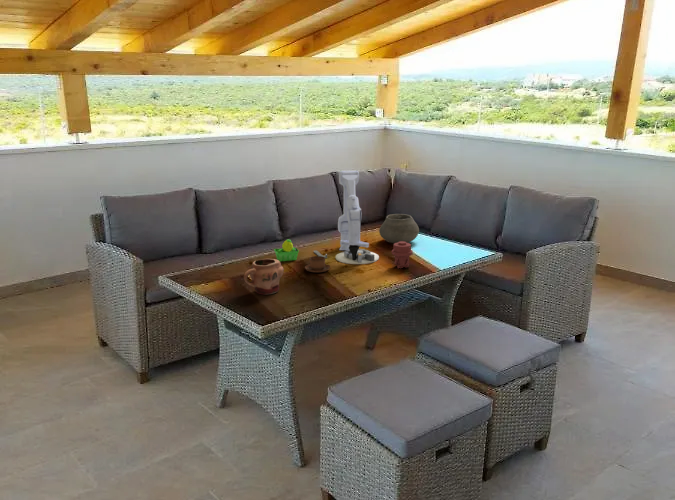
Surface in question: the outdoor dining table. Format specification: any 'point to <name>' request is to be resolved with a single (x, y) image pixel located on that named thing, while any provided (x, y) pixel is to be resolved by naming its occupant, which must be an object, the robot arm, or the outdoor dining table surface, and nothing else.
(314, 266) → the cup and saucer
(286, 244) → the fruit basket
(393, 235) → the clay pot
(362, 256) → the grey block crown
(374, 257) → the white round disc
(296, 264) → the outdoor dining table surface
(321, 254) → the pin spanner
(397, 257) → the mechanical component
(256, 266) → the decorative planter
